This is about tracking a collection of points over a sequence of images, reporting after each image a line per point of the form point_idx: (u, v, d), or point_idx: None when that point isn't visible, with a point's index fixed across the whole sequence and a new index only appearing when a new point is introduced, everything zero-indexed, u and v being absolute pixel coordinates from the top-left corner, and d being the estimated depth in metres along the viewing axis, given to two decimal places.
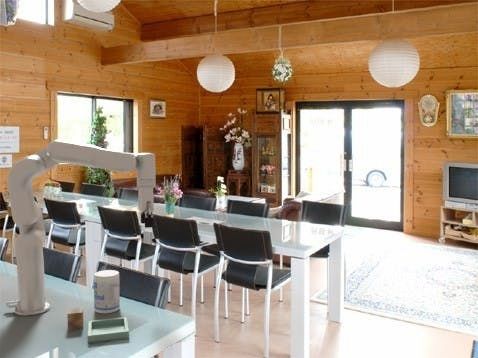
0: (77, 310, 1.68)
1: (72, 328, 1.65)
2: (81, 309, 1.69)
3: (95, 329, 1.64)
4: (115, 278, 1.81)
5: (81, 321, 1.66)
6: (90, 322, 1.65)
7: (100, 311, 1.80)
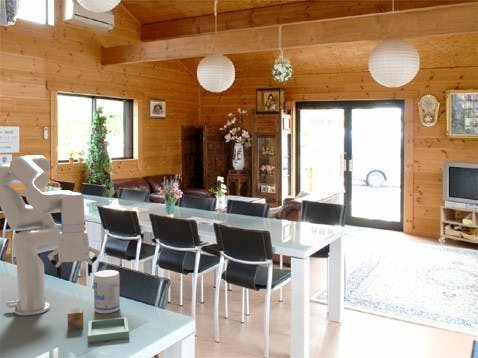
0: (77, 310, 1.68)
1: (72, 328, 1.65)
2: (81, 309, 1.69)
3: (95, 329, 1.64)
4: (115, 278, 1.81)
5: (81, 321, 1.66)
6: (90, 322, 1.65)
7: (100, 311, 1.80)
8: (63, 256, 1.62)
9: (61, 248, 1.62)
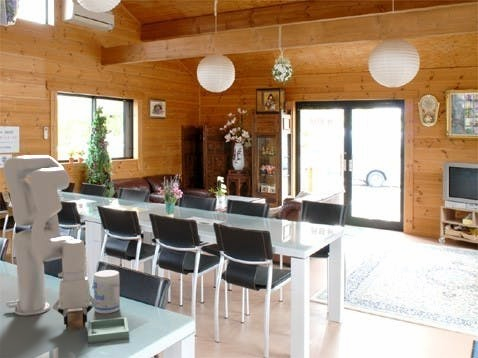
0: (77, 310, 1.68)
1: (72, 328, 1.65)
2: (81, 309, 1.69)
3: (95, 329, 1.64)
4: (115, 278, 1.81)
5: (81, 321, 1.66)
6: (90, 322, 1.65)
7: (100, 311, 1.80)
8: (64, 303, 1.64)
9: (62, 296, 1.63)
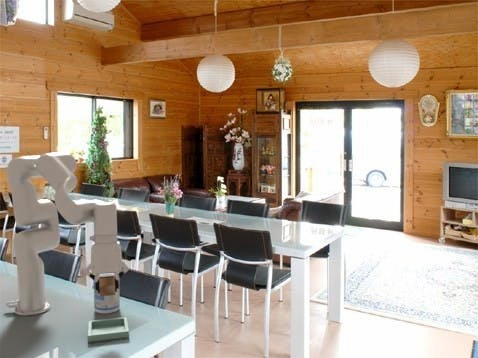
0: (108, 275, 1.61)
1: (104, 294, 1.58)
2: (113, 275, 1.62)
3: (95, 329, 1.64)
4: None
5: (113, 286, 1.59)
6: (90, 322, 1.65)
7: (100, 311, 1.80)
8: (96, 268, 1.57)
9: (94, 260, 1.57)
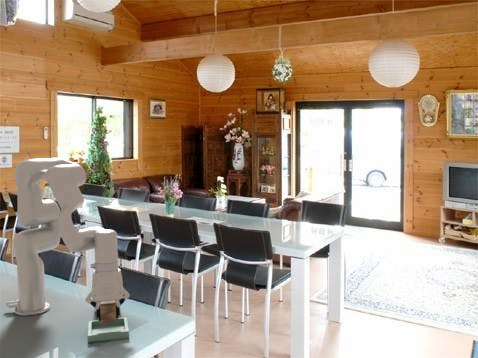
0: (109, 302, 1.62)
1: (105, 321, 1.59)
2: (114, 301, 1.63)
3: (95, 329, 1.64)
4: None
5: (114, 314, 1.60)
6: (90, 322, 1.65)
7: None
8: (97, 296, 1.58)
9: (95, 287, 1.57)
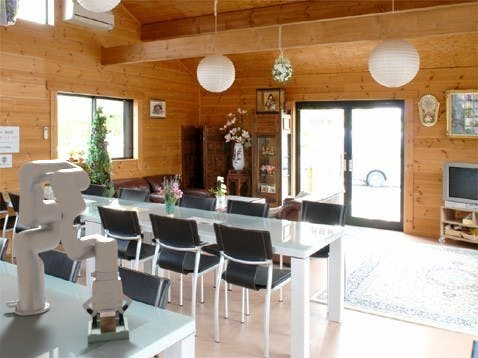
0: (109, 314, 1.62)
1: None
2: (113, 313, 1.63)
3: (95, 329, 1.64)
4: None
5: (114, 325, 1.60)
6: (90, 322, 1.65)
7: (100, 311, 1.80)
8: (97, 304, 1.58)
9: (95, 296, 1.58)
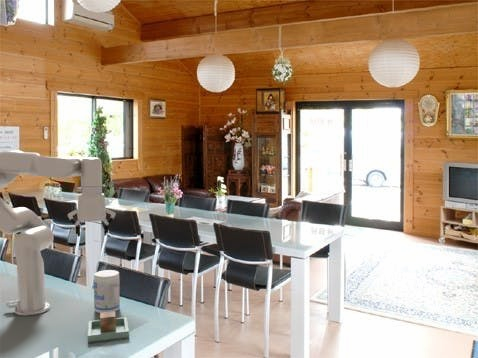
0: (109, 314, 1.62)
1: None
2: (113, 313, 1.63)
3: (95, 329, 1.64)
4: (115, 278, 1.81)
5: (114, 325, 1.60)
6: (90, 322, 1.65)
7: (100, 311, 1.80)
8: (82, 215, 1.75)
9: (80, 208, 1.75)
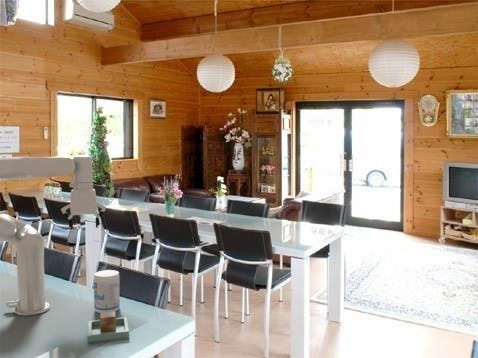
0: (109, 314, 1.62)
1: None
2: (113, 313, 1.63)
3: (95, 329, 1.64)
4: (115, 278, 1.81)
5: (114, 325, 1.60)
6: (90, 322, 1.65)
7: (100, 311, 1.80)
8: (74, 209, 1.88)
9: (73, 202, 1.87)
